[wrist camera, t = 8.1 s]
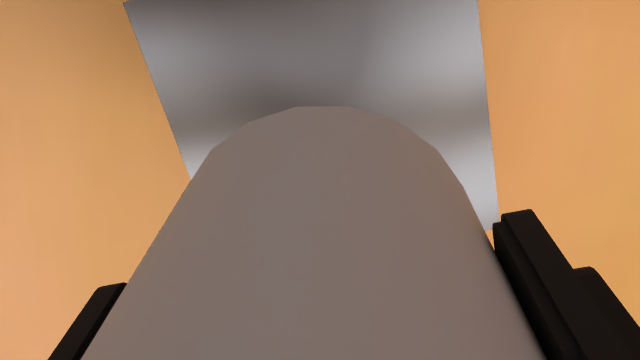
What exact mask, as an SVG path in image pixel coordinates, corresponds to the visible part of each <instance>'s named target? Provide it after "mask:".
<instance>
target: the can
mask: <svg viewBox="0 0 640 360" xmlns="http://www.w3.org/2000/svg"><path fill="white" fill-rule="evenodd" d="M81 360H547V358H546V356H545V354H544V352H543V350H542V348H541V346H540V344H539V341H538V339H537V337H536V335H535V333H534V331H533V329H532V327H531V325H530V323H529V321H528V319H527V317H526V315H525V313H524V311H523V309H522V307H521V304H520V302H519V300H518V298H517V296H516V294H515V292H514V290H513V288H512V286H511V284H510V282H509V280H508V278H507V276H506V274H505V272H504V270H503V267H502V265H501V263H500V261H499V259H498V257H497V255H496V253H495V251H494V249H493V247H492V245H491V243H490V241H489V239H488V237H487V235H486V233H485V230H484V228H483V226H482V224H481V222H480V220H479V218H478V216H477V214H476V212H475V210H474V208H473V206H472V204H471V202H470V200H469V198H468V196H467V194H466V191H465V189H464V187H463V186H462V184H461V183H460V181H459V180H458V178H457V177H456V176H455V174H454V173H453V171H452V170H451V168H450V167H449V166H448V164H447V163H446V161H445V160H444V159H443V157H442V156H441V154H440V153H439V151H438V150H437V149H436V148H434V147H433V146H431V145H430V144H429V143H427V142H426V141H424V140H423V139H422V138H420V137H419V136H417V135H416V134H415V133H413V132H412V131H410V130H409V129H408V128H406V127H405V126H403V125H402V124H400V123H399V122H398V121H394V120H391V119H388V118H385V117H381V116H378V115H375V114H372V113H369V112H365V111H362V110H359V109H356V108H352V107H349V106H312V107H294V108H290V109H287V110H284V111H281V112H278V113H275V114H272V115H269V116H266V117H263V118H260V119H256V120H253V121H250V122H248V123H247V124H245V125H244V126H243V127H241V128H240V129H238V130H237V131H236V132H234V133H233V134H232V135H230V136H229V137H228V138H226V139H225V140H224V141H222V142H221V143H220V144H218V145H217V146H216V147H214V148H213V149H212V150H211V151H210V152H209V154H208V155H207V157H206V158H205V160H204V161H203V163H202V164H201V166H200V167H199V169H198V170H197V172H196V173H195V175H194V176H193V178H192V180H191V181H190V183H189V184H188V186H187V187H186V189H185V190H184V192H183V194H182V195H181V197H180V199H179V200H178V202H177V204H176V205H175V207H174V208H173V210H172V212H171V213H170V215H169V217H168V218H167V220H166V221H165V223H164V225H163V226H162V228H161V230H160V231H159V233H158V234H157V236H156V238H155V239H154V241H153V243H152V244H151V246H150V248H149V249H148V251H147V252H146V254H145V256H144V257H143V259H142V261H141V262H140V264H139V265H138V267H137V269H136V270H135V272H134V274H133V275H132V277H131V278H130V280H129V282H128V283H127V285H126V287H125V288H124V290H123V292H122V293H121V295H120V296H119V298H118V300H117V301H116V303H115V305H114V306H113V308H112V309H111V311H110V313H109V314H108V316H107V318H106V319H105V321H104V322H103V324H102V326H101V327H100V329H99V331H98V332H97V334H96V336H95V337H94V339H93V340H92V342H91V344H90V345H89V347H88V349H87V350H86V352H85V353H84V355H83V357H82V358H81Z"/></svg>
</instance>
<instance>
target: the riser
mask: <svg viewBox="0 0 640 360" xmlns="http://www.w3.org/2000/svg"><path fill="white" fill-rule="evenodd" d="M123 4H124V7H125V10H126V12H127V15H128V17H129V20H130V23H131V25H132V28H133V30H134V33H135V36H136V38H137V41H138V43H139V46H140V49H141V51H142V54H143V56H144V59H145V62H146V64H147V67H148V69H149V72H150V75H151V77H152V80H153V82H154V85H155V88H156V90H157V93H158V95H159V98H160V101H161V103H162V106H163V108H164V111H165V114H166V116H167V119H168V121H169V124H170V127H171V129H172V132H173V134H174V137H175V140H176V142H177V145H178V148H179V150H180V153H181V155H182V158H183V161H184V163H185V166H186V168H187V171H188V174H189V176H190V179H191V180H192V178H193V176H194V175H195V173H196V172H197V170H198V169H199V167H200V166H201V164H202V163H203V161H204V160H205V158H206V157H207V155H208V154H209V152H210V151H211V150H212V149H213V148H214V147H216V146H217V145H218V144H220V143H221V142H222V141H224V140H225V139H226V138H228V137H229V136H230V135H232V134H233V133H234V132H236V131H237V130H238V129H240V128H241V127H243V126H244V125H245V124H247V123H248V122H250V121H253V120H256V119H260V118H263V117H266V116H269V115H272V114H275V113H278V112H281V111H284V110H287V109H290V108H294V107H312V106H349V107H352V108H356V109H359V110H362V111H365V112H369V113H372V114H375V115H378V116H381V117H385V118H388V119H391V120H394V121H398V122H399V123H400V124H402V125H403V126H405V127H406V128H408V129H409V130H410V131H412V132H413V133H415V134H416V135H417V136H419V137H420V138H422V139H423V140H424V141H426V142H427V143H429V144H430V145H431V146H433V147H434V148H436V149H437V150H438V151H439V153H440V154H441V156H442V157H443V159H444V160H445V161H446V163H447V164H448V166H449V167H450V168H451V170H452V171H453V173H454V174H455V176H456V177H457V178H458V180H459V181H460V183H461V184H462V186H463V187H464V189H465V191H466V194H467V196H468V198H469V200H470V202H471V204H472V206H473V208H474V210H475V212H476V214H477V216H478V218H479V220H480V222H481V224H482V226H483V228H484V230H489V229H492V224H493V223H495V222H500V220H499V210H498V200H497V190H496V180H495V170H494V160H493V151H492V141H491V131H490V121H489V111H488V101H487V91H486V81H485V72H484V62H483V52H482V42H481V32H480V22H479V12H478V3H477V0H129V1H126V2H123Z"/></svg>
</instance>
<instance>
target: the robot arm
mask: <svg viewBox="0 0 640 360" xmlns="http://www.w3.org/2000/svg"><path fill="white" fill-rule="evenodd" d="M492 229H493V239H494V248H495V253H496V255H497V257H498V259H499V261H500V263H501V265H502V267H503V270H504V272H505V274H506V276H507V278H508V280H509V282H510V284H511V286H512V288H513V290H514V292H515V294H516V296H517V298H518V300H519V302H520V304H521V307H522V309H523V311H524V313H525V315H526V317H527V319H528V321H529V323H530V325H531V327H532V329H533V331H534V333H535V335H536V337H537V339H538V341H539V344H540V346H541V348H542V350H543V352H544V354H545V356H546V358H547V360H640V327H639V326H638V325H637V323H636V322H635V321H634V319H633V318H632V317H631V315H630V314H629V313H628V311H627V310H626V309H625V308H624V306H623V305H622V304H621V302H620V301H619V300H618V298H617V297H616V296H615V294H614V293H613V292H612V290H611V289H610V288H609V286H608V285H607V284H606V283H605V281H604V280H603V279H602V277H601V276H600V275H599V273H598V272H597V271H596V270H595V269H594V268H592V267H590V266H589V267H583V268H577V269H573V268H572V267H571V265H570V264H569V263H568V261H567V260H566V258H565V257H564V255H563V254H562V252H561V251H560V250H559V248H558V247H557V245H556V244H555V242H554V241H553V239H552V238H551V237H550V235H549V234H548V232H547V231H546V229H545V228H544V226H543V225H542V224H541V222H540V221H539V219H538V218H537V216H536V215H535V213H534V212H533V211H532V210H531V209H527V210H522V211H516V212H511V213H505V214H502V215H501V222H495V223H493V224H492ZM126 285H127V283H124V282H123V283H118V284H112V285H107V286H102V287H99V288H98V289H97V290H96V291H95V292H94V293H93V295H92V296H91V298H90V299H89V301H88V302H87V304H86V305H85V307H84V308H83V309H82V311H81V312H80V314H79V315H78V317H77V318H76V320H75V321H74V322H73V324H72V325H71V327H70V328H69V330H68V331H67V333H66V334H65V335H64V337H63V338H62V340H61V341H60V343H59V344H58V346H57V347H56V348H55V350H54V351H53V353H52V354H51V356H50V357H49V359H48V360H81V358H82V357H83V355H84V353H85V352H86V350H87V349H88V347H89V345H90V344H91V342H92V340H93V339H94V337H95V336H96V334H97V332H98V331H99V329H100V327H101V326H102V324H103V322H104V321H105V319H106V318H107V316H108V314H109V313H110V311H111V309H112V308H113V306H114V305H115V303H116V301H117V300H118V298H119V296H120V295H121V293H122V292H123V290H124V288H125V287H126Z"/></svg>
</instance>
